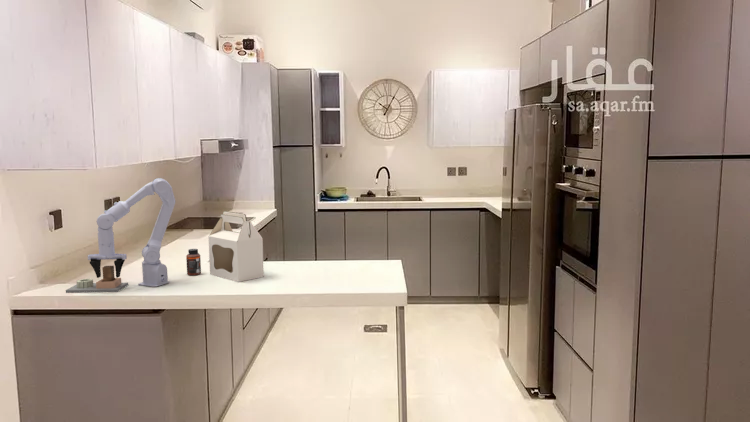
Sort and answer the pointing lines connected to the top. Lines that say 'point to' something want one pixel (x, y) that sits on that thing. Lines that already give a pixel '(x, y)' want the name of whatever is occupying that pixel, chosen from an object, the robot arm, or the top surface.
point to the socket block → (97, 286)
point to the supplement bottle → (193, 262)
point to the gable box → (235, 249)
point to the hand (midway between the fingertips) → (108, 277)
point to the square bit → (108, 273)
